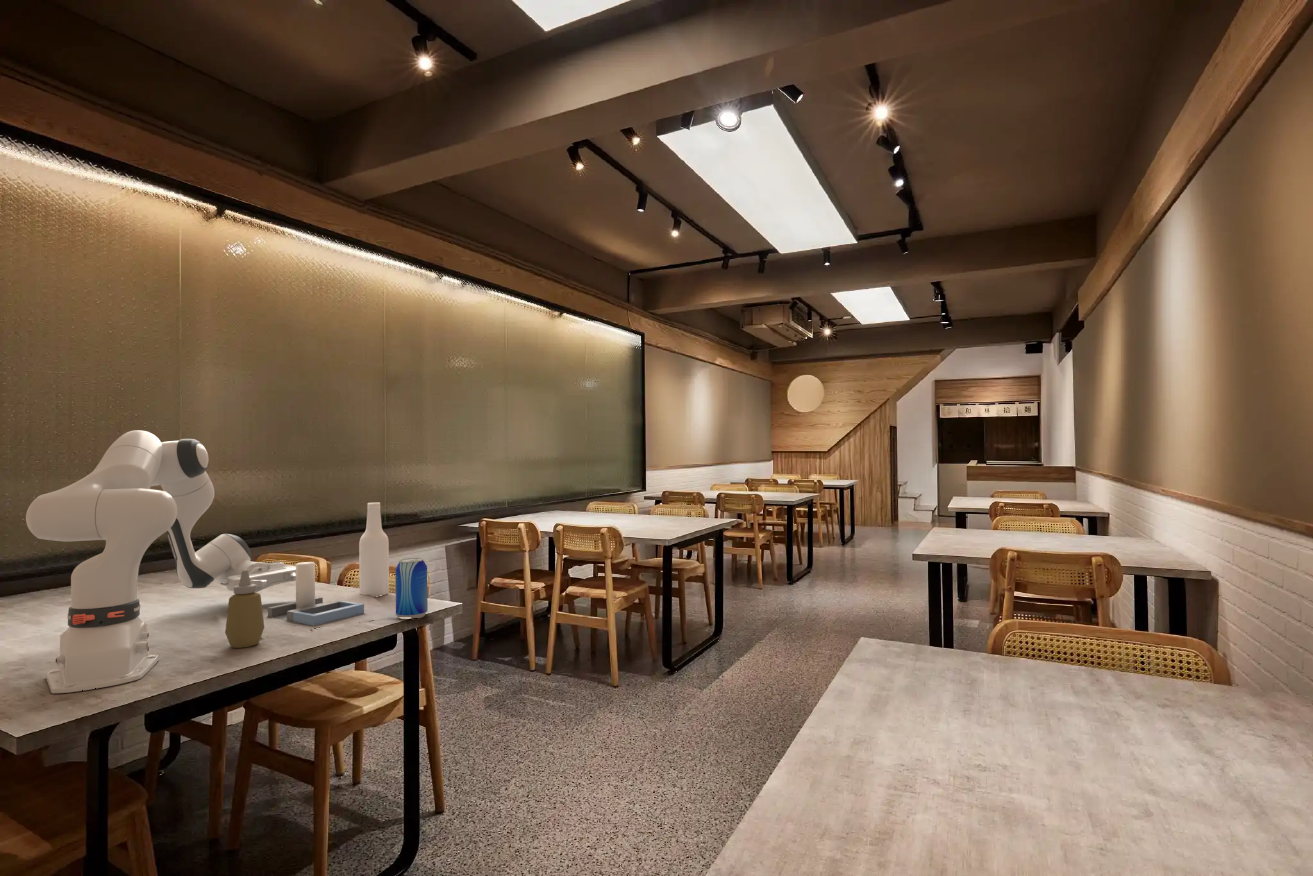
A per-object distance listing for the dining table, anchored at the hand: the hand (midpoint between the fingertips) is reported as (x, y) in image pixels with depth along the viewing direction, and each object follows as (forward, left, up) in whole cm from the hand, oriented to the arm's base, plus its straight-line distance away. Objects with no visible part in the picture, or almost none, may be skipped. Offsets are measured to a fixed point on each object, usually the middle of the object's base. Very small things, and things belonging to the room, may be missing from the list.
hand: (280, 580), depth 193 cm
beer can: (-31, -29, -9) cm, 43 cm away
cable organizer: (-16, -7, -9) cm, 19 cm away
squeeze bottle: (-34, +11, -9) cm, 37 cm away
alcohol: (+6, -27, -9) cm, 29 cm away
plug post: (-11, -5, -8) cm, 15 cm away
